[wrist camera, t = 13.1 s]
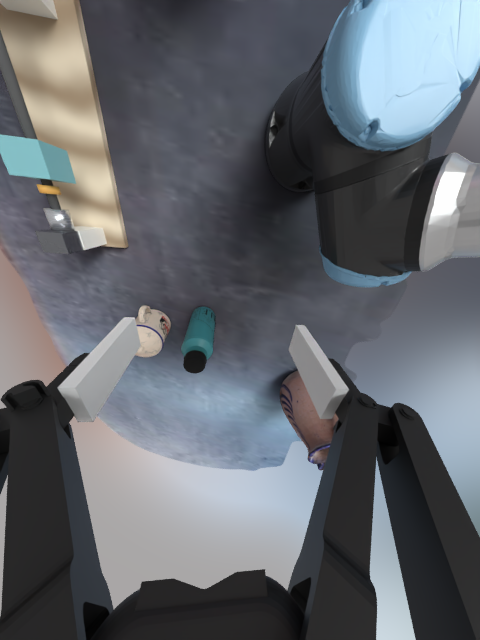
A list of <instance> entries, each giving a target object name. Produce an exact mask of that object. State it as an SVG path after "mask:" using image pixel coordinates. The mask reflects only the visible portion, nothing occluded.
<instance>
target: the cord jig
mask: <svg viewBox="0 0 480 640" xmlns="http://www.w3.org/2000/svg"><path fill="white" fill-rule="evenodd" d="M0 70H1V73H2V75H3V78H4V81H5V84H6V86H7V89H8V92H9V95H10V97H11V100H12V103H13V106H14V108H15V111H16V114H17V117H18V119H19V122H20V125H21V128H22V130H23V133H24V136H25V138H29V139H37V140H40V141H42V142H45V143H48V144H50V145H53V146H56V147H58V148H61V149H63V150H66V151H67V153H68V156H69V160H70V163H71V167H72V170H73V174H74V177H75V181H76V184H72V183H63V182H55V181H52V180H47V179H40V180H41V182H42V185H39V184H37V187H38V189H39V192H40V193H46V196H47V199H48V202H49V204H50V207H51V208H43V210H44V212H45V215H46V218H47V220H48V223H49V225H50V228H51V230H41V231H35V232H36V235H37V237H38V240H39V242H40V244H41V247H42V249H43V251H44V252H48V253H61V254H71V253H75V252H78V251H82V250H87V249H91V248H94V247H98V246H108V247H120V248H126V247H128V242H127V237H126V232H125V227H124V222H123V217H122V212H121V207H120V202H119V197H118V192H117V187H116V182H115V177H114V172H113V167H112V162H111V157H110V152H109V147H108V142H107V137H106V132H105V127H104V122H103V117H102V112H101V107H100V102H99V97H98V92H97V87H96V82H95V77H94V72H93V67H92V62H91V57H90V52H89V47H88V42H87V37H86V32H85V27H84V22H83V17H82V12H81V7H80V2H79V0H0Z"/></svg>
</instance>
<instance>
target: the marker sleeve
mask: <svg viewBox="0 0 480 640" xmlns="http://www.w3.org/2000/svg"><path fill="white" fill-rule="evenodd" d="M0 154H1V156H2V158H3V161H4V163H5V165H6V168H7V170H8V172H9V175H15V176H21V177H27V178H33V179H39V180H40V179H47V180H52V181H55V182H63V183H72V184H76V181H75V177H74V174H73V170H72V167H71V163H70V160H69V156H68V153H67V151H66V150H63V149H61V148H58V147H56V146H53V145H50V144H48V143H45V142H42V141H40V140H37V139H29V138H22V137H14V136H7V135H0Z"/></svg>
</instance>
